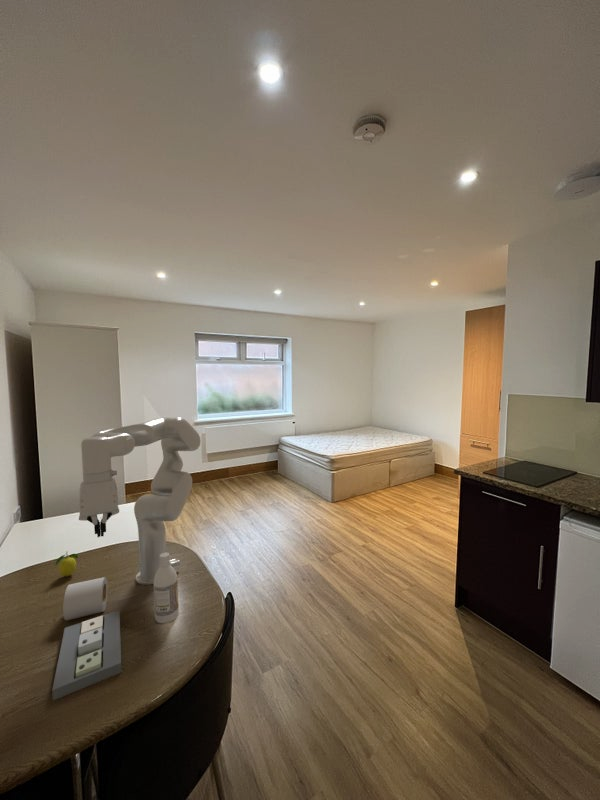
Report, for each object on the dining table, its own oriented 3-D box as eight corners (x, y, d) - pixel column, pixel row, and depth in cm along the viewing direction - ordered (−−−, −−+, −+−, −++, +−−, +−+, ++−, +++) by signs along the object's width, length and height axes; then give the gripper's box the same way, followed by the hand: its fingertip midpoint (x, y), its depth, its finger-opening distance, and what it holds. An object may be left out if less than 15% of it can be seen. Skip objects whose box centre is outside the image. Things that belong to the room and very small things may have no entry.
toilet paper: (64, 628, 98) (62, 596, 98) (73, 607, 107) (72, 578, 107) (102, 618, 102) (100, 587, 101) (108, 599, 111) (106, 571, 111)
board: (119, 617, 102) (119, 610, 102) (121, 672, 82) (121, 662, 82) (65, 636, 95) (64, 627, 94) (52, 700, 75) (52, 690, 75)
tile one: (103, 624, 98) (102, 614, 98) (102, 635, 94) (102, 625, 94) (82, 631, 96) (82, 621, 95) (81, 643, 91) (80, 632, 91)
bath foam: (179, 619, 100) (177, 556, 99) (155, 627, 97) (152, 562, 96) (177, 606, 106) (175, 547, 106) (154, 613, 103) (152, 552, 103)
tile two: (102, 637, 92) (101, 626, 92) (101, 649, 87) (101, 638, 87) (80, 645, 89) (79, 633, 89) (78, 658, 85) (78, 646, 84)
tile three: (101, 660, 85) (101, 648, 85) (101, 674, 81) (100, 662, 81) (78, 669, 83) (77, 657, 82) (76, 684, 78) (75, 672, 78)
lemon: (55, 583, 121) (54, 557, 121) (58, 575, 126) (57, 550, 126) (77, 577, 124) (76, 552, 124) (79, 570, 130) (77, 546, 129)
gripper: (124, 470, 106) (127, 525, 107) (69, 478, 99) (72, 536, 99) (125, 475, 100) (128, 533, 100) (66, 484, 92) (69, 546, 93)
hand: (100, 535), depth 100 cm, fingers closed
